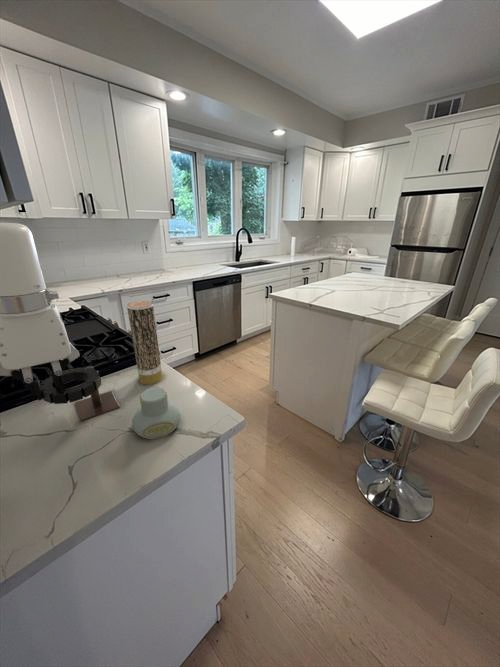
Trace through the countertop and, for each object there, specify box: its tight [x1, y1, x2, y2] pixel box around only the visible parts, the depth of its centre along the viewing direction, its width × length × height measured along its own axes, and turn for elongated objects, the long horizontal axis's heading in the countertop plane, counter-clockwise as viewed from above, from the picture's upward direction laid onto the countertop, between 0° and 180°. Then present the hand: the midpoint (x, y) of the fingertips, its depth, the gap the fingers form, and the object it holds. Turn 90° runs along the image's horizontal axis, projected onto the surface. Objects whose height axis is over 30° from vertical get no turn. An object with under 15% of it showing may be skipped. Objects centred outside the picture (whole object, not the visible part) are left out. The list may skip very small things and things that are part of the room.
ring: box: [40, 366, 102, 405], centre depth 55 cm, size 10×10×2 cm
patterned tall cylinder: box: [126, 300, 163, 385], centre depth 82 cm, size 7×7×25 cm
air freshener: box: [131, 387, 181, 440], centre depth 65 cm, size 11×8×10 cm
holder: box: [74, 365, 121, 423], centre depth 71 cm, size 9×9×12 cm
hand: (49, 393), depth 53 cm, fingers closed on ring, 2 cm apart
